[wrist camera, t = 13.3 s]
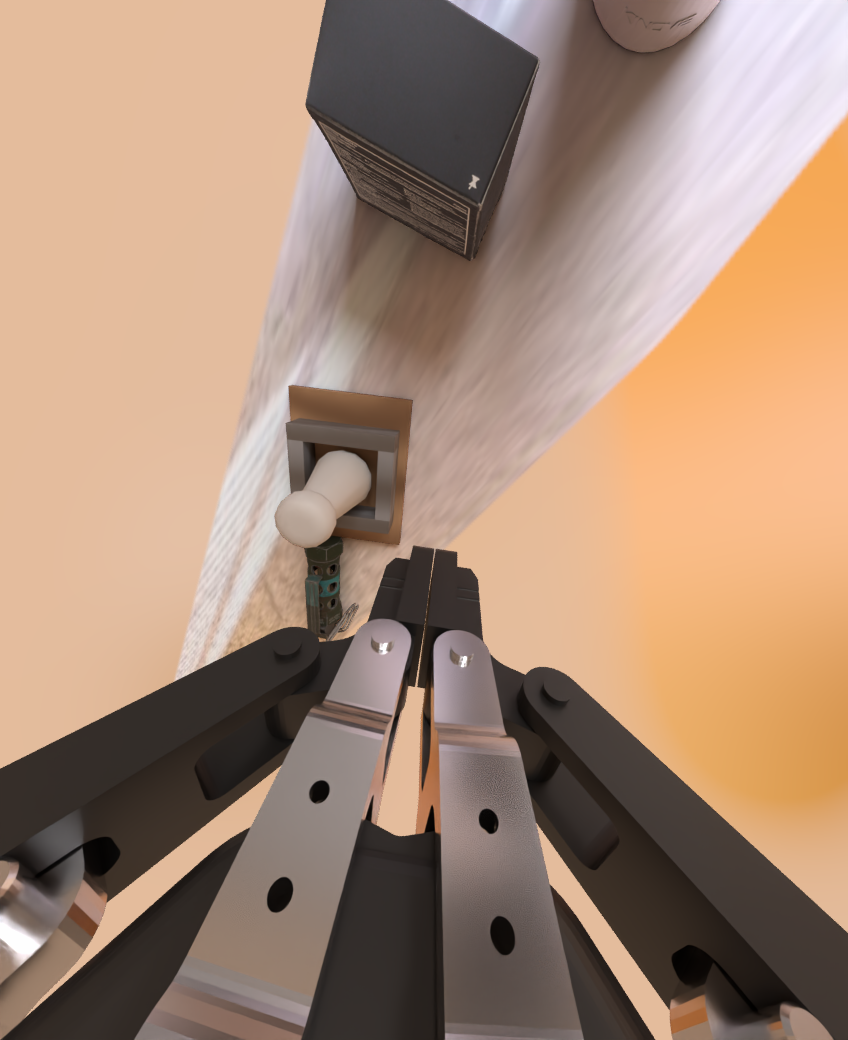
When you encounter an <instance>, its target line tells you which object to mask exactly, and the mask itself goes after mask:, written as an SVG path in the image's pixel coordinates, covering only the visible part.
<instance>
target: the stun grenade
mask: <svg viewBox="0 0 848 1040" xmlns="http://www.w3.org/2000/svg"><path fill="white" fill-rule="evenodd" d="M304 549H305V554H306V557H307V562H308V577H307V578H306V580H305V590H306V607H307V624H308V630H310V631H312V632H313V633H314V634H316V636H317V637H320V638H325V639H326V641H328V640H329V641H331V640H332V639H333V638H334V636H335V635H336V633H337V632H338V633H339V632H344V631H346V630H347V629H348V627H349V625H350V623H351V621H352V619H353V617H354V615H355V613H356V611H357V609H358V607H359V605H357V606H356V607H357V608H356V607H355V604H356V603H354V604H353V605H354V606H353V605H352V606H353V608H352V610H351V612H350V613H347V612H348V611H349V610H350V609H351V607H352V606H351V607H350V608H349V609H348V610H347V611H346V612H345V614H344V615H343V616H342V606H341V601H340V598H339V592H340V582H339V577H340V565H339V559H340V555H341V554H342V553H343V542H342V539H341V537H338V536H330V538H329V539H327V540H326V541H325V542H323V543H322V544H320V545H318V546H317V547H310V548H304ZM330 568H331V569H332V570H333V572H334V573H332V574H330ZM317 569H318V575H316V574H315V573H314V571H315V570H317ZM330 584H331V585H332V586H333V588H334V590H333V591H331V592H330ZM332 599H335V600H336V602H335V605H331V600H332ZM354 607H355V608H356V610H355V608H354ZM354 610H355V612H354V614H353V616H352V618H351V620H350V622H349V624H348V626H347V628H346V629H345V630H342V629H344V628H345V626H346V625H347V623H348V620H349V618H350V616H351V614H352V612H353V611H354ZM345 616H346V617H345ZM348 616H349V617H348ZM344 617H345V619H344ZM347 617H348V619H347ZM340 618H341V619H340ZM339 619H340V620H339ZM343 619H344V620H343ZM346 619H347V621H346V624H345V625H344V627H343V628H341V626H342V625H343V623H344V622H345V620H346ZM338 620H339V621H338ZM342 620H343V621H342ZM337 621H338V622H337ZM336 624H337V625H336ZM339 630H341V631H339Z"/></svg>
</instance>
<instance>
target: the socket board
mask: <svg viewBox="0 0 848 1040" xmlns="http://www.w3.org/2000/svg"><path fill="white" fill-rule="evenodd" d="M288 387H289V402H290V416H291V421H290V422H287V423H286V432H287V446H288V459H289V473H290V486H291V494H292V493H293V492H296V491H303V489H304V487H305V485H306V484H307V482H308V480H309V478H310V476H311V474H312V472H313V470H314V468H315V466H316V464H317V462H318V460H319V459H320V458H322V457H323V456H324V455H325V454H327V453H328V452H332V451H339V450H345V451H348V452H351V453H355V454H356V455H358V456H359V457H360V458H361V459H362V460H363V461H364V462H366V464H367V466H368V468H369V470H370V473H371V489H370V491H369V492H368V494H367V496H366V498H365V499H364V500H363V501H361V502H360V503H358V504H357V505H356V506H354V507H353V508H352V509H350V510H349V511H347V512H346V513H345V514H343V515H342V516H340V517H339V518H338V519H336V526H335V528H334V530H333V532H332V534H331V536H338V537H345V538H353V539H360V540H367V541H375V542H382V543H390V544H397V545H399V543H400V538H401V526H402V515H403V504H404V492H405V481H406V469H407V458H408V447H409V435H410V424H411V413H412V401H413V400H408V399H400V398H392V397H384V396H376V395H368V394H360V393H351V392H343V391H335V390H327V389H319V388H311V387H303V386H295V385H291V386H288Z"/></svg>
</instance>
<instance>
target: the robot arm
mask: <svg viewBox="0 0 848 1040" xmlns="http://www.w3.org/2000/svg"><path fill="white" fill-rule="evenodd" d="M593 2H594V6H595V11H596V13H597V15H598V17H599V19H600V22H601V24H602V26H603V28H604V29H605V30H606V32H607V33H608V34H609V35H610V37H611V38H612V39H613V40H614V41H615V42H617V43H618V44H620V45H621V46H623V47H624V48H626V49H629V50H633V51H636V52H656V51H658V50H661V49H664V48H667V47H670V46H672V45H674V44H675V43H677V42H679V41H680V40H682V39H683V38H685V37H687V36H688V35H689V34H690V33H691V32H693V31H694V30H695V29H696V28H697V27H698V26H699V25H700V24H701V23H702V22H703V21H704V20H705V19H706V18H707V17H708V15H709V14H710V13H711V12H712V10H713V9H714V8H715V7H716V6H717V4H718V3H719V2H720V0H593ZM433 554H434V549H433V548H427V547H420V546H413V549H412V553H411V557H410V560H408V559H401V558H395V559H394V560H392V561H391V562H390V563H389V564H388V565H387V566H386V569H385V572H384V575H383V578H382V580H381V583H380V587H379V589H378V592H377V595H376V598H375V601H374V604H373V607H372V610H371V613H370V616H369V619H368V622H367V623H365V624H364V625H362V626H361V627H360V628H359V630H358V631H357V632H356V634H355V635H353V636H351V637H349V638H345V639H341V640H335V641H326V642H319V639H318V637H317V636H316V634H314V633H313V632H312V631H310V630H308V629H306V628H301V627H288V628H283V629H280V630H277V631H275V632H273V633H271V634H269V635H267V636H265V637H263V638H261V639H259V640H257V641H255V642H253V643H251V644H249V645H247V646H245V647H243V648H241V649H239V650H237V651H235V652H233V653H231V654H229V655H227V656H225V657H223V658H221V659H219V660H217V661H215V662H213V663H211V664H209V665H207V666H205V667H203V668H201V669H199V670H197V671H195V672H193V673H191V674H189V675H187V676H185V677H183V678H181V679H179V680H177V681H175V682H173V683H171V684H169V685H167V686H165V687H163V688H161V689H159V690H157V691H155V692H153V693H151V694H149V695H147V696H145V697H143V698H141V699H139V700H137V701H135V702H133V703H131V704H129V705H127V706H125V707H123V708H121V709H119V710H117V711H115V712H113V713H111V714H109V715H107V716H105V717H103V718H101V719H99V720H97V721H95V722H93V723H91V724H89V725H87V726H85V727H83V728H81V729H79V730H77V731H75V732H73V733H71V734H69V735H67V736H65V737H63V738H61V739H59V740H57V741H55V742H53V743H51V744H49V745H47V746H45V747H43V748H41V749H39V750H37V751H35V752H33V753H31V754H29V755H27V756H25V757H23V758H21V759H19V760H17V761H15V762H13V763H11V764H9V765H7V766H5V767H3V768H1V769H0V1040H655V1039H654V1037H653V1035H652V1034H651V1032H650V1031H649V1029H648V1027H647V1026H646V1024H645V1023H644V1021H643V1020H642V1018H641V1017H640V1015H639V1013H638V1012H637V1010H636V1009H635V1007H634V1006H633V1004H632V1002H631V1001H630V999H629V998H628V996H627V994H626V993H625V991H624V990H623V988H622V987H621V985H620V983H619V982H618V980H617V979H616V977H615V976H614V974H613V972H612V971H611V969H610V968H609V966H608V965H607V963H606V961H605V960H604V958H603V957H602V955H601V954H600V952H599V950H598V949H597V947H596V946H595V944H594V942H593V941H592V939H591V938H590V936H589V935H588V933H587V932H586V930H585V928H584V927H583V925H582V924H581V922H580V921H579V919H578V918H577V916H576V915H575V914H574V912H573V911H572V910H571V908H570V907H569V906H568V905H567V903H566V902H565V901H564V899H563V898H562V897H561V896H560V895H559V894H558V893H557V891H556V890H555V889H554V888H553V887H552V886H551V885H550V884H549V880H548V875H547V871H546V866H545V862H544V857H543V853H542V848H541V843H540V839H539V834H538V830H537V825H536V823H537V824H538V826H539V827H540V828H541V830H542V831H543V833H544V834H545V835H546V837H547V838H548V839H549V841H550V842H551V844H552V845H553V847H554V848H555V850H556V851H557V852H558V854H559V855H560V857H561V858H562V859H563V861H564V862H565V864H566V865H567V866H568V868H569V869H570V871H571V872H572V873H573V875H574V876H575V878H576V879H577V881H578V882H579V883H580V885H581V886H582V888H583V889H584V890H585V892H586V893H587V895H588V896H589V897H590V899H591V900H592V902H593V903H594V904H595V906H596V907H597V909H598V910H599V912H600V913H601V914H602V916H603V917H604V919H605V920H606V921H607V923H608V924H609V926H610V927H611V928H612V930H613V931H614V933H615V934H616V935H617V937H618V938H619V940H620V941H621V942H622V944H623V945H624V947H625V948H626V949H627V951H628V952H629V954H630V955H631V957H632V958H633V959H634V961H635V962H636V963H637V965H638V966H639V968H640V969H641V971H642V972H643V974H644V975H645V976H646V978H647V979H648V981H649V982H650V983H651V985H652V986H653V988H654V989H655V990H656V992H657V993H658V995H659V996H660V997H661V999H662V1000H663V1002H664V1003H665V1004H666V1006H667V1007H668V1009H669V1010H670V1026H671V1033H672V1038H673V1040H848V933H847V932H846V931H845V930H844V929H843V928H842V927H841V926H840V925H838V924H837V923H836V922H835V921H834V920H833V919H832V918H831V917H830V916H829V915H828V914H826V913H825V912H824V911H823V910H822V909H821V908H820V907H819V906H818V905H817V904H816V903H815V902H814V901H812V900H811V899H810V898H809V897H808V896H807V895H806V894H805V893H804V892H803V891H802V890H800V889H799V888H798V887H797V886H796V885H795V884H794V883H793V882H792V881H791V880H789V879H788V878H787V877H786V876H785V875H784V874H783V873H782V872H781V871H780V870H779V869H777V867H776V866H774V865H773V864H772V863H771V862H770V861H769V860H768V859H767V858H766V857H765V856H764V855H762V854H761V853H760V852H759V851H758V850H757V849H756V848H755V847H754V846H753V845H752V844H750V843H749V842H748V841H747V840H746V839H745V838H744V837H743V836H742V835H741V834H740V833H739V832H738V831H736V830H735V829H734V828H733V827H732V826H731V825H730V824H729V823H728V822H727V821H726V820H724V819H723V818H722V817H721V816H720V815H719V814H718V813H717V812H716V811H715V810H713V809H712V808H711V807H710V806H709V805H708V804H707V803H706V802H705V801H704V800H702V798H701V797H699V796H698V795H697V794H696V793H695V792H694V791H693V790H692V789H691V788H690V787H689V786H688V785H686V784H685V783H684V782H683V781H682V780H681V779H680V778H679V777H678V776H677V775H676V774H675V773H673V772H672V771H671V770H670V769H669V768H668V767H667V766H666V765H665V764H664V763H663V762H661V761H660V760H659V759H658V758H657V757H656V756H655V755H654V754H653V753H652V752H651V751H650V750H648V749H647V748H646V747H645V746H644V745H643V744H642V743H641V742H640V741H639V740H638V739H637V738H635V737H634V736H633V735H632V734H631V733H630V732H629V731H628V730H627V729H625V728H624V727H623V726H622V725H621V724H620V723H619V722H618V721H617V720H616V719H615V718H614V717H613V716H611V715H610V714H609V713H608V712H607V711H606V710H605V709H604V708H603V707H602V706H601V705H600V704H599V703H597V702H596V701H595V700H594V699H593V698H592V697H591V696H590V695H589V694H588V693H587V692H585V691H584V690H583V689H582V688H581V687H580V686H579V685H578V684H577V683H576V682H574V680H572V679H571V678H570V677H569V676H567V675H566V674H564V673H562V672H560V671H558V670H555V669H552V668H548V667H537V668H534V669H532V670H530V671H529V672H528V673H527V674H526V675H524V674H522V673H520V672H518V671H516V670H513V669H511V668H509V667H507V666H505V665H503V664H501V663H500V662H498V661H497V660H496V659H495V658H493V656H492V655H491V654H490V653H489V650H488V648H487V646H486V645H485V644H484V642H483V636H482V624H481V612H480V602H479V592H478V591H479V588H478V579H477V577H476V576H475V574H474V573H473V572H472V570H471V569H467V568H461V567H457V552H454V551H447V550H441V549H436V552H435V558H434V564H433V571H432V577H431V570H432V562H433ZM430 579H431V584H430ZM429 586H430V590H429ZM428 595H429V597H428ZM427 603H428V605H427ZM426 611H427V613H426ZM425 619H426V621H425ZM424 626H425V629H424ZM423 633H424V637H423ZM422 639H423V645H422ZM421 645H422V654H421V662H420V670H419V678H418V686H417V687H420V688H425V693H424V703H423V708H422V714H421V735H420V771H419V802H418V813H417V823H416V834H415V835H409V836H396V835H393V834H391V833H390V832H388V831H386V830H384V829H382V828H380V827H379V826H377V825H376V824H377V819H378V815H379V809H380V804H381V799H382V794H383V789H384V785H385V780H386V776H387V772H388V768H389V764H390V760H391V756H392V751H393V747H394V743H395V739H396V735H397V730H398V726H399V722H400V718H401V713H402V710H403V708H404V705H405V702H406V696H407V689H408V686H413V687H415V683H416V677H417V670H418V664H419V658H420V652H421ZM281 765H282V766H281ZM280 766H281V768H280V770H279V772H278V774H277V776H276V778H275V780H274V782H273V784H272V786H271V788H270V790H269V792H268V794H267V796H266V798H265V800H264V802H263V804H262V806H261V808H260V810H259V812H258V814H257V816H256V818H255V820H254V822H253V824H252V826H251V827H250V828H248V829H246V830H244V831H243V832H241V833H239V834H237V835H236V836H234V837H232V838H230V839H229V840H228V841H226V842H225V843H224V844H222V845H221V846H219V847H218V848H217V849H215V850H214V851H213V852H212V853H210V854H209V855H208V856H207V857H206V858H204V859H203V860H202V861H201V862H200V863H199V864H198V865H197V866H195V867H194V868H193V869H192V870H191V871H190V872H189V873H188V874H187V875H185V876H184V877H183V878H182V879H181V880H180V881H178V882H177V883H176V884H175V885H174V886H173V887H172V888H171V889H169V890H168V891H167V892H166V893H165V894H164V895H163V896H162V897H161V898H159V899H158V900H157V901H156V902H155V903H154V904H153V905H152V906H150V907H149V908H148V909H147V910H146V911H145V912H144V913H142V914H141V915H140V916H139V917H138V918H137V919H136V920H135V921H134V922H132V923H131V924H130V925H129V926H128V927H127V928H126V929H124V931H122V932H121V933H120V934H119V935H118V936H117V937H116V938H114V939H113V940H112V941H111V942H110V943H109V944H108V945H107V946H105V947H104V948H103V949H102V950H101V951H100V952H99V953H98V954H96V955H95V956H94V957H93V958H92V959H91V960H90V961H89V962H87V963H86V964H85V965H84V966H83V967H82V968H81V969H80V970H78V971H77V972H76V973H75V974H74V975H73V976H72V977H71V978H69V979H68V980H67V981H66V982H65V983H64V984H63V985H62V986H60V987H59V988H58V989H57V990H56V991H55V992H54V993H53V994H52V995H50V996H49V997H48V998H47V999H46V1000H45V1001H44V1002H42V1003H41V1004H40V1005H39V1006H38V1007H37V1008H36V1009H35V1010H33V1011H32V1012H31V1013H30V1014H29V1015H28V1016H27V1017H26V1018H25V1016H26V1015H27V1014H28V1013H29V1011H30V1010H31V1009H32V1008H33V1007H34V1006H35V1005H36V1003H37V1002H38V1001H39V1000H40V999H41V998H42V997H43V996H44V995H45V994H46V993H47V992H48V991H49V990H50V989H51V988H52V987H53V986H54V985H55V984H56V983H57V982H58V981H59V980H60V979H61V978H62V977H63V976H64V975H65V974H66V973H67V972H68V971H69V970H70V969H71V967H72V966H73V965H74V964H75V963H76V962H77V961H78V960H79V958H80V957H81V955H82V954H83V952H84V951H85V949H86V948H87V946H88V944H89V943H90V941H91V940H92V938H93V936H94V934H95V932H96V930H97V928H98V927H99V924H100V922H101V919H102V917H103V914H104V911H105V907H106V903H107V902H108V901H109V900H111V899H112V898H113V897H115V896H116V895H117V894H118V893H120V892H121V891H122V890H124V889H125V888H126V887H127V886H129V885H130V884H131V883H132V882H134V881H135V880H136V879H137V878H139V877H140V876H141V875H142V874H144V873H145V872H146V871H148V870H149V869H150V868H151V867H153V866H154V865H155V864H157V863H158V862H159V861H160V860H162V859H163V858H164V857H165V856H167V855H168V854H169V853H171V852H172V851H173V850H174V849H175V848H177V847H178V846H179V845H181V844H182V843H183V842H184V841H186V840H187V839H188V838H189V837H191V836H192V835H193V834H195V833H196V832H197V831H198V830H200V829H201V828H202V827H204V826H205V825H206V824H207V823H209V822H210V821H211V820H212V819H214V818H215V817H216V816H217V815H219V814H220V813H221V812H223V811H224V810H225V809H226V808H228V807H229V806H230V805H231V804H233V803H234V802H235V801H237V800H238V799H239V798H240V797H242V796H243V795H244V794H245V793H247V792H248V791H249V790H251V789H252V788H253V787H254V786H256V785H257V784H258V783H259V782H261V781H262V780H263V779H264V778H266V777H267V776H268V775H270V774H271V773H272V772H273V771H275V770H276V769H277V768H278V767H280Z"/></svg>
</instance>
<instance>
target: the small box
mask: <svg viewBox="0 0 848 1040" xmlns="http://www.w3.org/2000/svg"><path fill="white" fill-rule="evenodd" d="M538 68H539V59H538V57H536V56H535V55H533V54H531V53H530V52H528V51H527V50H525V49H523V48H522V47H520V46H519V45H517V44H516V43H514V42H513V41H511V40H510V39H508V38H506V37H505V36H503V35H502V34H500V33H498V32H497V31H495V30H494V29H492V28H490V27H489V26H487V25H486V24H484V23H483V22H481V21H479V20H478V19H476V18H475V17H473V16H472V15H470V14H468V13H467V12H465V11H464V10H462V9H461V8H459V7H457V6H456V5H454V4H453V3H451V2H450V1H448V0H326V3H325V8H324V13H323V16H322V22H321V27H320V34H319V38H318V43H317V48H316V52H315V58H314V63H313V68H312V73H311V78H310V83H309V88H308V93H307V99H306V108H307V110H308V112H309V114H310V115H311V117H312V118H313V119H314V120H315V122H316V124H317V125H318V127H319V129H320V130H321V132H322V133H323V135H324V137H325V139H326V140H327V142H328V143H329V146H330V147H331V149H332V151H333V153H334V155H335V156H336V158H337V160H338V162H339V164H340V165H341V167H342V169H343V171H344V173H345V174H346V176H347V178H348V180H349V182H350V183H351V185H352V187H353V190H354V191H355V193H356V196H357V198H359V199H360V200H363V201H364V202H366V203H368V204H369V205H371V206H373V207H374V208H376V209H378V210H380V211H382V212H383V213H385V214H387V215H389V216H391V217H392V218H394V219H395V220H397V221H400V222H401V223H403V224H405V225H406V226H408V227H410V228H412V229H414V230H416V231H417V232H419V233H421V234H423V235H424V236H425V237H427V238H429V239H431V240H433V241H435V242H437V243H438V244H441V245H442V246H444V247H446V248H448V249H449V250H451V251H453V252H455V253H457V254H459V255H461V256H463V257H464V258H466V259H468V260H469V261H471V260H473V259H474V258H475V256H476V254H477V251H478V246H479V243H480V242H481V241H482V236H483V235H484V233H485V229H486V227H487V225H488V222H489V220H490V217H491V215H492V214H493V211H494V208H495V206H496V203H497V202H498V201H499V199H500V196H501V194H502V191H503V188H504V185H505V181H506V179H507V177H508V174H509V169H510V166H511V162H512V158H513V155H514V151H515V147H516V144H517V140H518V137H519V134H520V130H521V126H522V123H523V119H524V115H525V112H526V108H527V106H528V102H529V98H530V94H531V91H532V87H533V84H534V80H535V77H536V73H537V71H538Z"/></svg>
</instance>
